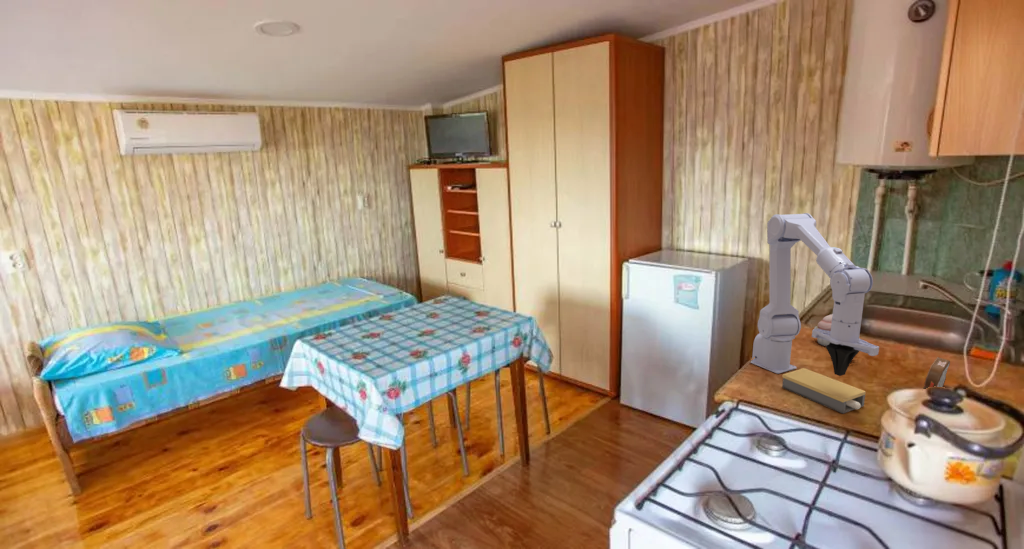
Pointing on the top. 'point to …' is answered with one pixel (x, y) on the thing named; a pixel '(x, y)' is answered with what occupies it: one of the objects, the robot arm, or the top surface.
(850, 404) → the cable duct
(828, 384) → the duct cover
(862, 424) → the top surface
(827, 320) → the cupcake
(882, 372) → the top surface
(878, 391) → the top surface
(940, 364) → the tin
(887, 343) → the top surface
